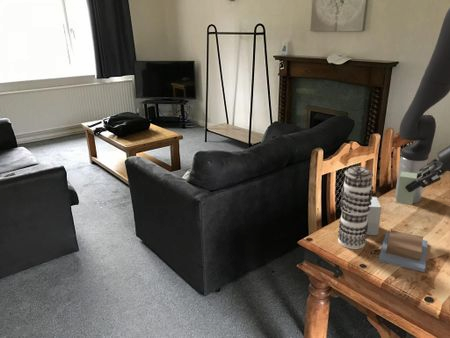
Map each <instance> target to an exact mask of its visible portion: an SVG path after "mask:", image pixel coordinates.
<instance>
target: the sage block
mask: <svg viewBox="0 0 450 338" xmlns="http://www.w3.org/2000/svg"><path fill="white" fill-rule="evenodd" d="M416 179H417V173H410V172H403V171H401V175H400V180H399V187H398V194H397V199H396V203H397V204H400V205H407V206H413V204H414V203H413V198H414V191H415V190H414V191H412V192H408V191H407V190H406V188H405V187H406V186H407V185H408V184H410V183H412V182H413V181H415V180H416Z"/></svg>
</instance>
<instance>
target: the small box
mask: <svg viewBox="0 0 450 338" xmlns="http://www.w3.org/2000/svg"><path fill="white" fill-rule="evenodd" d="M371 197H372V200H371V205H369V206H368V207H370V211H369V213H368V214H367V218H368V219H367V224H368V228H367V232H366V233H367V235H366V236H379V229H380V222H381V213H382V206H381V204H380V202H379V198H378V197H377V196H371Z"/></svg>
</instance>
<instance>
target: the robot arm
mask: <svg viewBox="0 0 450 338" xmlns="http://www.w3.org/2000/svg"><path fill="white" fill-rule="evenodd" d="M435 44H436V45H435V47H434V50H433V52H432V55H431V58H430V59H429V62H428V64H427V66H426V68H425V70H424V73H423V75H422V78H421V80H420V83H419V86H418V87H417V90H416V93H415V95H414V97H413V99H412V101H411V103H410V105H409V106H408V107H407V110H406V112H405V114H404V115H403V117H402V119H401V121H400V125H399V130H398V131H399V136H400V138H401V139H403V141H404V140H406V141H415V142H413V143H411V144H410V145H407V146H404V147H403V148H402V149H401V152H400V160H399V166H398V173H397V181H396V186H395V191H394V197H395V199H396V200H397V194H398V187H399V180H400V175H401V171H403V172H410V173H417V179H416V180H415V181H413V182H412V183H410V184H408V185H407V186H406V187H405V188H406V190H407V191H408V192H412V191H414V190H415V191H414V198H413V204H417V203H420V202H421V200H422V196H423V195H422V194H423V189H425V188H427V187H428V186H430V185H433V184H435V183H437V182H439V181H440V180H441V179H442V177H443V176H444V174H445V173H446V172H450V145H448V146H447V147H445V148H443V149H441V150H440V151H439V152H437V158H438V159H437V158H433V160H431V161H430V162H428V161H429V156H430V154H431V151H432V147H433V142H434V138H435V135H436V128H437V122H436V118H435V117H434V116H433V115H431V114H425V113H426V112H427V111H428V110H429V109H431V108H433V106H435V105H436V104H438V103H439V102H440V101H441V100H443V99H444V98H445V97H447V96H448V94H449V93H450V7H449V8H448V10H447V12H446V13H445V16H444V19H443V22H442V25H441V28H440V32H439V35H438V38H437V42H436V43H435Z"/></svg>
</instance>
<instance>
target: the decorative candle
mask: <svg viewBox="0 0 450 338" xmlns="http://www.w3.org/2000/svg"><path fill="white" fill-rule="evenodd" d="M343 174H344V175H345V177H344V182H343V186H342V187H341V191H340V192H341V193H340V197H341V198H340V209H341V215H340V219H339V222H338V223H339V225H338V231H337V233H338V234H337V238H338V239H337V241H338V243H339V244H340V245H341V246H342V247H345V248H347V249H351V250H358V249H363V248H364V247H365V246H366V244H367V243H366V242H367V236H368V235H367V233H366V232H367V228H368V224H367V219H368V218H367V214H368V213H369V211H370V207H368V206H369V205H371V200H372V197H373V196H372V195H374V186H372V181H373V177H374V174H373V172H371V170H370V169H369V168H367V167H365V166H360V165H358V166H357V165H356V166H355V165H354V166H351V167H348V169H346V170H345V171H344V173H343Z"/></svg>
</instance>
